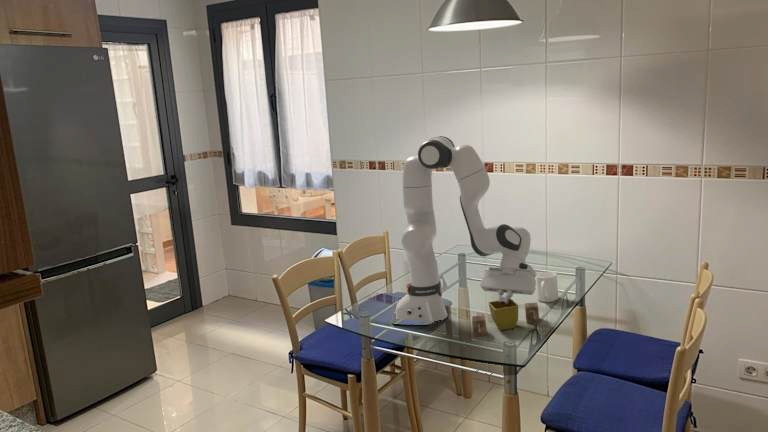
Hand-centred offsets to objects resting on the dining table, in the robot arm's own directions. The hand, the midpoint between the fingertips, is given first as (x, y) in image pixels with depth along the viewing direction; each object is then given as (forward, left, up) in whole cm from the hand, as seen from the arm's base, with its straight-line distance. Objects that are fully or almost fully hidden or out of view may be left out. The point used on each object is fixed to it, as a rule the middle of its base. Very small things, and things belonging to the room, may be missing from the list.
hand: (502, 302), depth 209 cm
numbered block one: (-9, -4, -10) cm, 14 cm away
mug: (+17, +26, -10) cm, 32 cm away
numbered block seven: (+10, +6, -10) cm, 15 cm away
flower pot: (0, +1, -10) cm, 10 cm away
